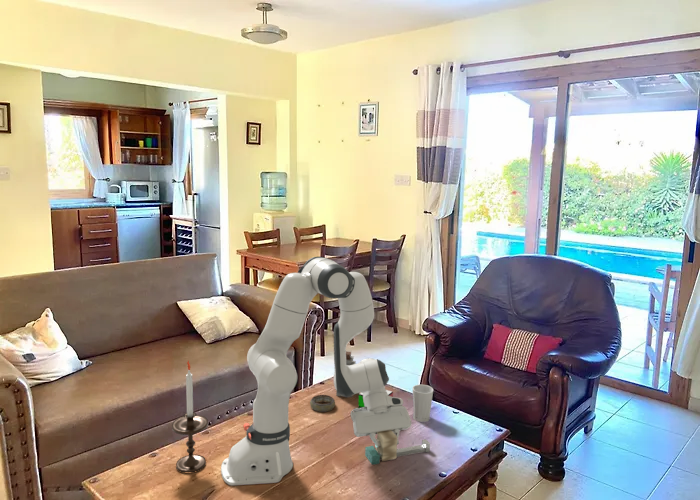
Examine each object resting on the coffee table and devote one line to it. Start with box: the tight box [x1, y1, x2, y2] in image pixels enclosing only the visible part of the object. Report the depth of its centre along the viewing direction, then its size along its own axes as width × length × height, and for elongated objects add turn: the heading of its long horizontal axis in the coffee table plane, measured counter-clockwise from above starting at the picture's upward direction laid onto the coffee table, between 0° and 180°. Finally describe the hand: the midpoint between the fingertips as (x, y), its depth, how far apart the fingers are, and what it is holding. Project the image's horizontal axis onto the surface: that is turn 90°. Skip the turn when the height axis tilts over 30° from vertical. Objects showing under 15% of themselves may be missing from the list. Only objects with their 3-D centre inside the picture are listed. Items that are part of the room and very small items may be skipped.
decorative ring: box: [309, 394, 336, 413], centre depth 208 cm, size 10×3×10 cm
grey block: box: [336, 351, 357, 398], centre depth 220 cm, size 7×7×18 cm
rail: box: [364, 438, 431, 466], centre depth 175 cm, size 22×6×3 cm, turn 110°
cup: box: [412, 384, 434, 423], centre depth 201 cm, size 8×8×12 cm
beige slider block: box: [376, 430, 398, 462], centre depth 173 cm, size 5×5×8 cm
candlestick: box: [171, 359, 209, 473], centre depth 163 cm, size 11×11×35 cm
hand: (387, 445), depth 173 cm, fingers closed on beige slider block, 5 cm apart
